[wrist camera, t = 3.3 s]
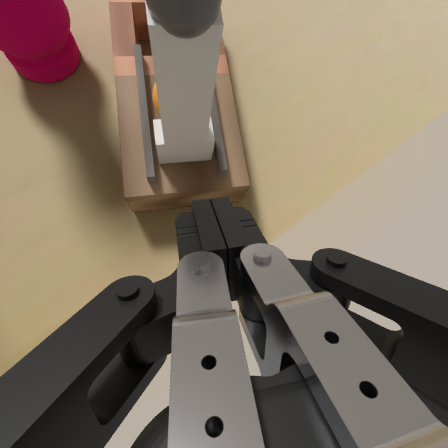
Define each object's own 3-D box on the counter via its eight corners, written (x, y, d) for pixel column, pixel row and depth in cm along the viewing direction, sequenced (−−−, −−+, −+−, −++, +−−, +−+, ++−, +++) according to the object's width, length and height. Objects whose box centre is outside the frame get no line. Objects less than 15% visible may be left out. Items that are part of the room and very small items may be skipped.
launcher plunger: (160, 169, 22) (121, -22, 9) (156, 136, 23) (114, -92, 9) (212, 165, 23) (251, -18, 9) (206, 132, 23) (236, -83, 10)
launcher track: (133, 212, 25) (121, 192, 20) (117, 24, 30) (103, -30, 25) (240, 200, 27) (253, 179, 22) (209, 24, 31) (214, -27, 26)
